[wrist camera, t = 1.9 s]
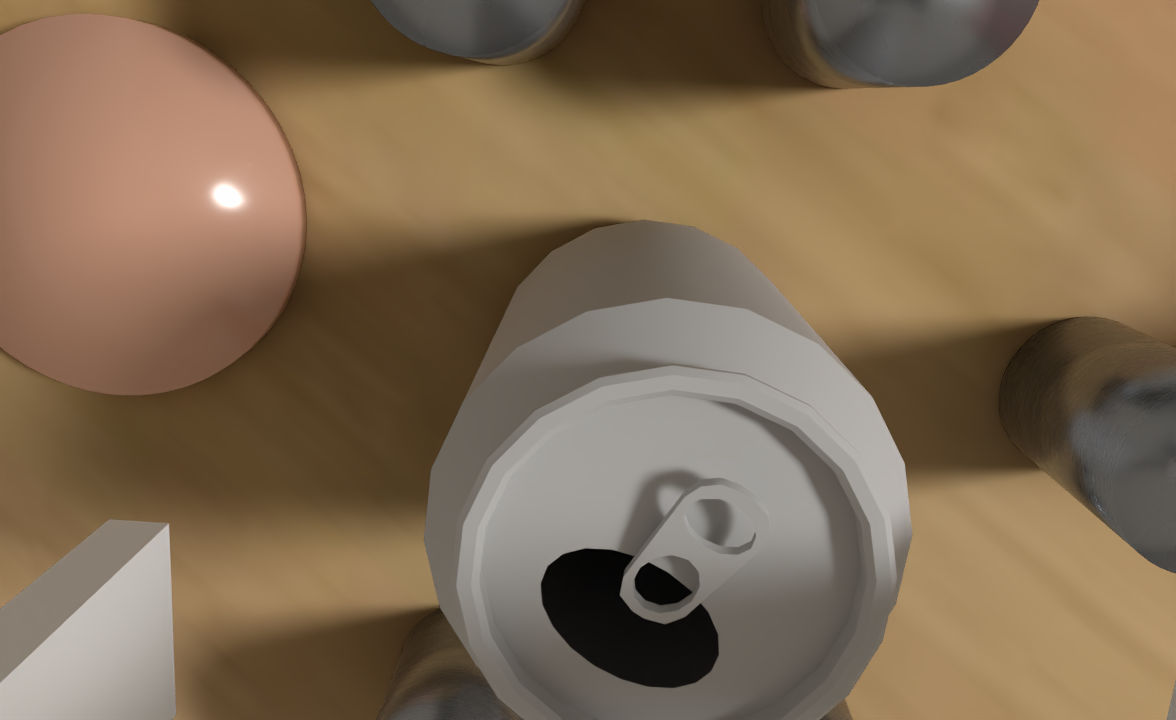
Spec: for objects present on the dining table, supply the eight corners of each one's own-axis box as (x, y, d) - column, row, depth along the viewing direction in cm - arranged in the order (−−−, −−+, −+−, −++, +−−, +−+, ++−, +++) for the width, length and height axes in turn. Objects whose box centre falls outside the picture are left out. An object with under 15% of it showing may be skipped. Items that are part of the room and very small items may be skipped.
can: (439, 398, 26) (300, 647, 14) (608, 153, 24) (607, 207, 12) (676, 553, 27) (727, 906, 15) (853, 329, 25) (1065, 531, 13)
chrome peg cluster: (416, -127, 23) (349, -203, 17) (1262, -70, 23) (1489, -126, 17) (398, 727, 28) (344, 891, 22) (1075, 774, 28) (1197, 951, 22)
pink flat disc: (-79, 3, 23) (-102, 0, 23) (305, 29, 23) (295, 27, 23) (-42, 373, 26) (-63, 382, 25) (307, 397, 26) (298, 407, 25)
